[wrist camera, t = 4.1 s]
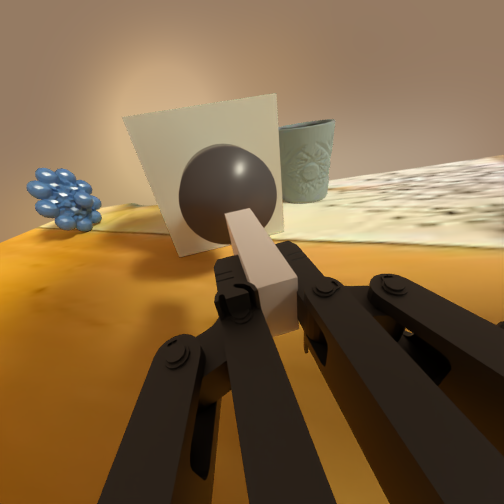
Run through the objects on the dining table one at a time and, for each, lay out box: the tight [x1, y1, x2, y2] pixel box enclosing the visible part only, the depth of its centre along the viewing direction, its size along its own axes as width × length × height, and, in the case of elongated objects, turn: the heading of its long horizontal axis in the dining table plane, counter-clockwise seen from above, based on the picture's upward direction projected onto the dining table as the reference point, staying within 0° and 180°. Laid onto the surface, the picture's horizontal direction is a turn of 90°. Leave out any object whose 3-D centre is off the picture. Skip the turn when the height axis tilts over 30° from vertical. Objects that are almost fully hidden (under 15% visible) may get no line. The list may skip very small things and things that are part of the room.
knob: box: [179, 144, 277, 245], centre depth 22 cm, size 8×11×8 cm
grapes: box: [27, 168, 102, 232], centre depth 37 cm, size 12×7×12 cm, turn 176°
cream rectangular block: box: [122, 93, 284, 257], centre depth 28 cm, size 15×8×16 cm, turn 104°
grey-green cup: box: [278, 119, 335, 203], centre depth 38 cm, size 10×10×12 cm
